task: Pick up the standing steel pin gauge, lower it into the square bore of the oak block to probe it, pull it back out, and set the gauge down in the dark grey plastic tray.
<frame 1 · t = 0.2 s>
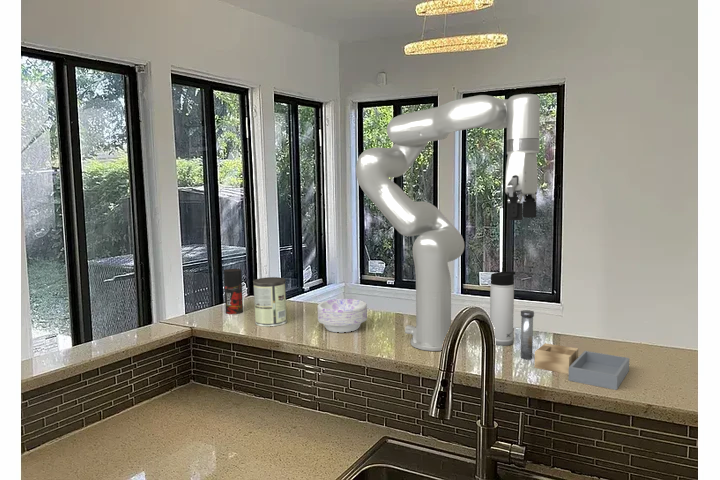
hand: (522, 218, 132), 36 cm above the countertop, tool pointing down, fingers open, 9 cm apart
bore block: (556, 366, 132), on the countertop
travel mug: (501, 343, 151), on the countertop
tray: (599, 375, 125), on the countertop
paper bowls: (342, 329, 167), on the countertop
coffee can: (270, 323, 176), on the countertop
pin gauge: (526, 357, 138), on the countertop
deodorant: (234, 312, 191), on the countertop
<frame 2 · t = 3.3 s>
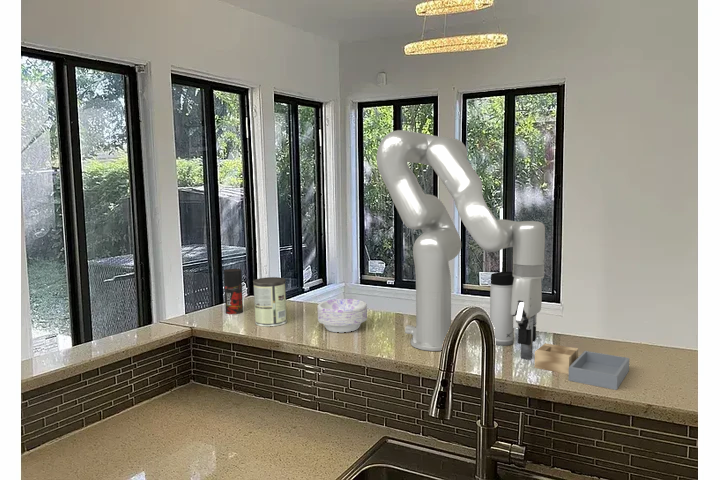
hand: (526, 341, 137), 4 cm above the countertop, tool pointing down, fingers closed on pin gauge, 2 cm apart
pin gauge: (526, 357, 138), on the countertop, touching gripper
everything else where it was.
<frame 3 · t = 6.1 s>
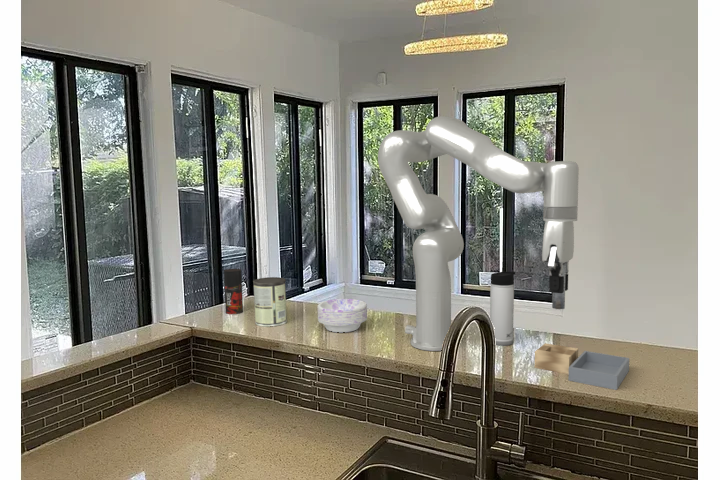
hand: (558, 290, 129), 19 cm above the countertop, tool pointing down, fingers closed on pin gauge, 2 cm apart
pin gauge: (558, 307, 130), point 14 cm above the countertop, touching gripper
everything else where it was.
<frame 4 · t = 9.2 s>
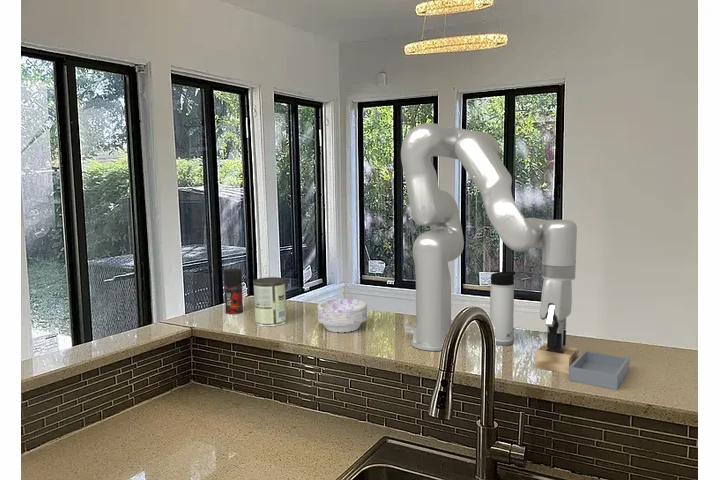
hand: (556, 346, 131), 5 cm above the countertop, tool pointing down, fingers closed on pin gauge, 2 cm apart
pin gauge: (556, 363, 132), point 1 cm above the countertop, touching gripper
everything else where it was.
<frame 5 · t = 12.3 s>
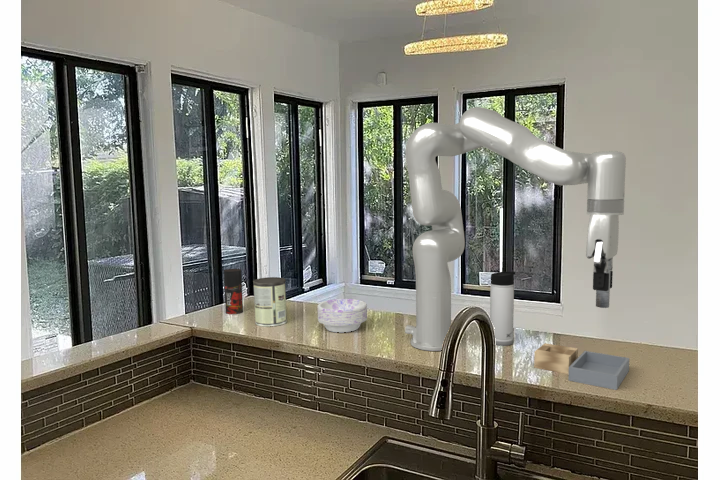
hand: (602, 288, 123), 20 cm above the countertop, tool pointing down, fingers closed on pin gauge, 2 cm apart
pin gauge: (602, 306, 123), point 16 cm above the countertop, touching gripper
everything else where it was.
when the fingers open (6 cm above the countertop, at t = 15.1 s): pin gauge stays where it is, resting on tray.
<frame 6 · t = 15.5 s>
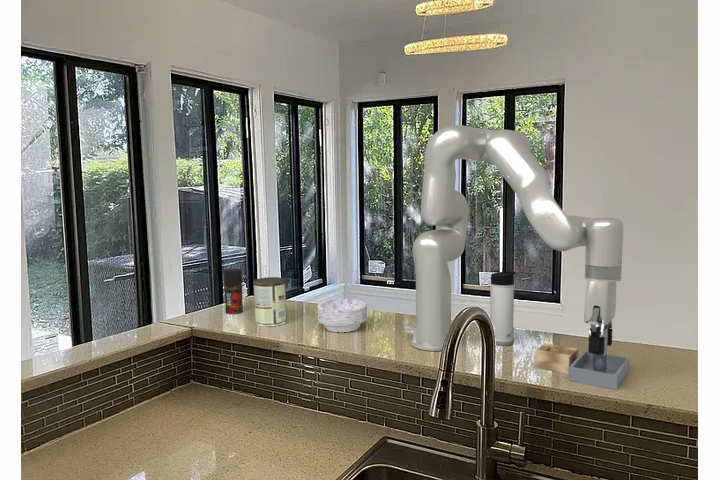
hand: (600, 348, 124), 6 cm above the countertop, tool pointing down, fingers open, 7 cm apart
pin gauge: (599, 373, 125), point 1 cm above the countertop, touching tray
everything else where it was.
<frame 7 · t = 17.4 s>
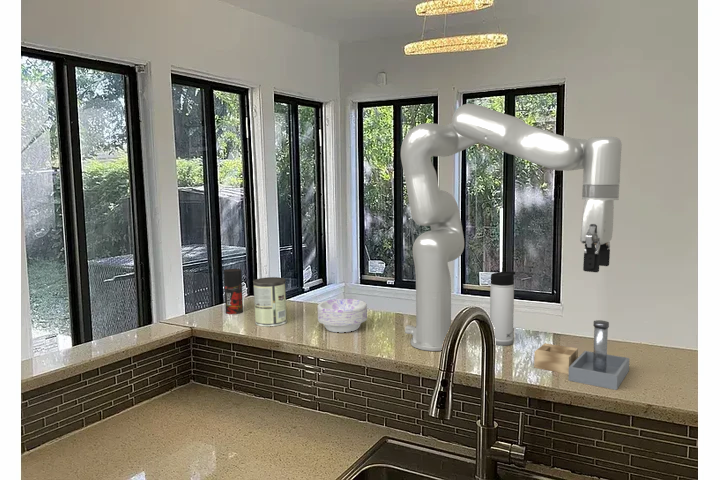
hand: (596, 268, 123), 25 cm above the countertop, tool pointing down, fingers open, 9 cm apart
nothing on the countertop moved.
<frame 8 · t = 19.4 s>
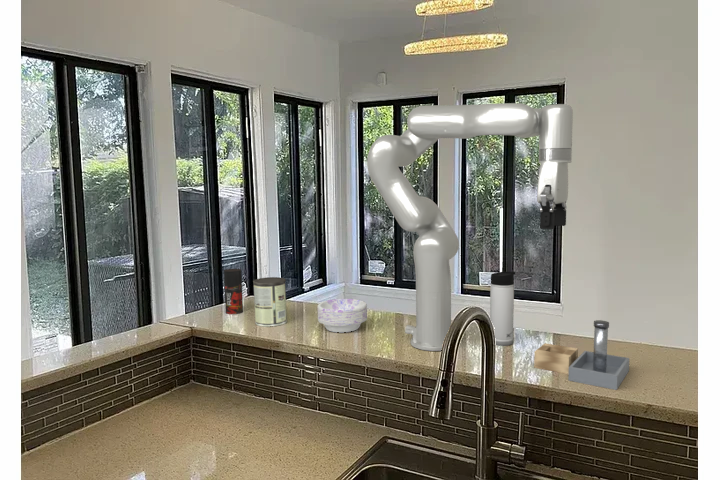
hand: (553, 227, 134), 33 cm above the countertop, tool pointing down, fingers open, 9 cm apart
nothing on the countertop moved.
at the end: pin gauge inside the target area on the tray (0.0 cm from its centre), point 0.6 cm above the tray's base; the gripper is holding nothing; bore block moved 0.1 cm from its start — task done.
